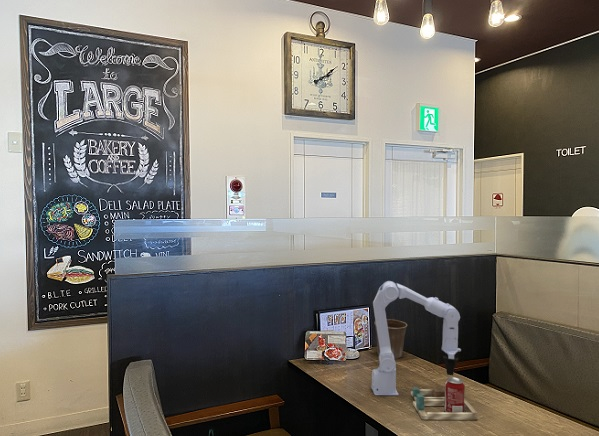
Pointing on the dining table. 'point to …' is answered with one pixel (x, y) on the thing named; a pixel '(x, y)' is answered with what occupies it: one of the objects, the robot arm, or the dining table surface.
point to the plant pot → (394, 336)
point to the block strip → (424, 392)
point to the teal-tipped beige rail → (422, 402)
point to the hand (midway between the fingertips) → (449, 371)
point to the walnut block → (438, 392)
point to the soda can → (454, 395)
